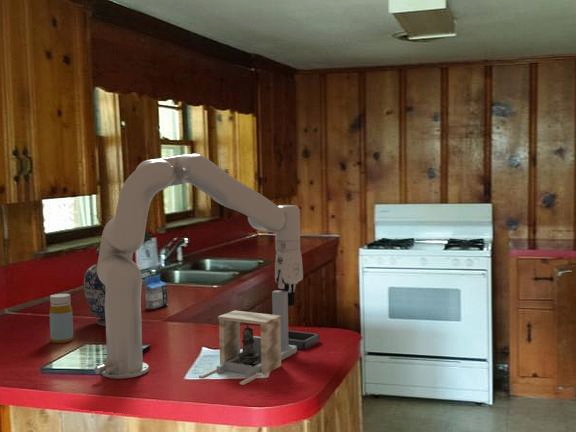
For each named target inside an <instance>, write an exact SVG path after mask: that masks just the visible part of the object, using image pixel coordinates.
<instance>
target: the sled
mask: <svg viewBox="0 0 576 432" xmlns="http://www.w3.org/2000/svg"><path fill="white" fill-rule="evenodd" d="M271 298H272V299H271V301H272V302H271V303H272V305H271V306H272V307H271V308H272V309H271V311H272V313H271V314H272V315H280V316H281V319H280V321H281V361H283V360H285V359H286V358H288V357H290V356H292V355H294V354H296V353H297V351H298V349H297V346H295V345H289V339H288V330H289V306H288V291H282V290H279V289H278V290H273V291H272V292H271ZM253 340H254V341H255V342H254V351H255V352H257V353H259V356H258V359H257V361H256V362H255V363H258V364H256V366H254V367H252V366H251V365H244V364H243V363H242V362H241V361H240V359H239V356H238V357H236V358H233V359H231V360H229V361H227V362H225V363H223V364H220V363H219V365H217V366H216V367H217V371H216V373H223V372H225V371H229V372H233V373H240V374H244V377H245V378H249V377H251V376H253V375H255V374H256V373H261V336H257V335H253Z"/></svg>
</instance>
